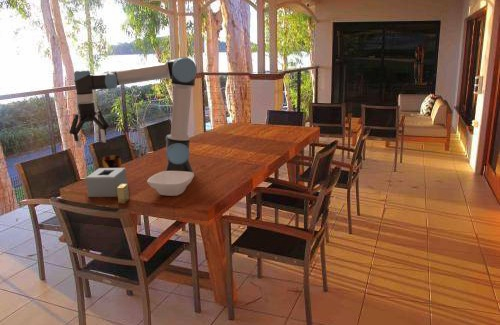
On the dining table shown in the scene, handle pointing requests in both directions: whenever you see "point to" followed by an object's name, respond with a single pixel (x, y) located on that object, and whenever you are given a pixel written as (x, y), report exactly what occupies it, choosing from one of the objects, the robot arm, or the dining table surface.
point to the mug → (111, 162)
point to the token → (122, 193)
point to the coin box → (105, 182)
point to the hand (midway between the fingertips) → (91, 144)
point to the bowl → (170, 182)
